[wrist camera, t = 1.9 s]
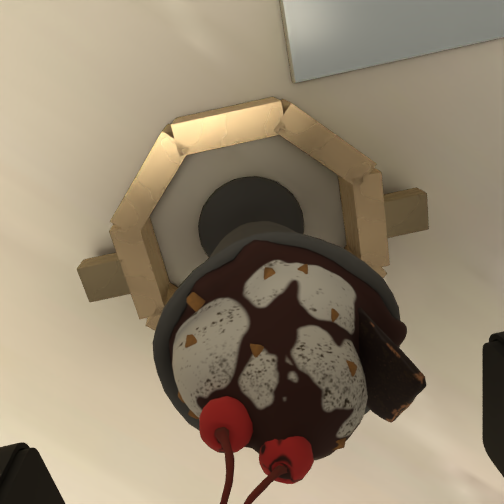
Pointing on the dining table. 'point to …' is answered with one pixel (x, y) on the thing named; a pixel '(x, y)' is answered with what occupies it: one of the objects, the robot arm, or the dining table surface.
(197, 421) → the sundae
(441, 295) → the dining table surface
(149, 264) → the collar
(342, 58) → the plate
